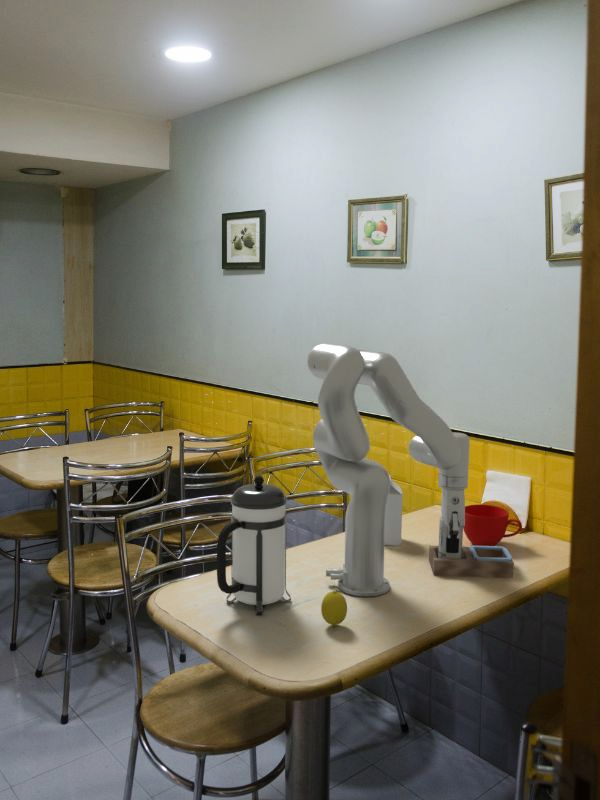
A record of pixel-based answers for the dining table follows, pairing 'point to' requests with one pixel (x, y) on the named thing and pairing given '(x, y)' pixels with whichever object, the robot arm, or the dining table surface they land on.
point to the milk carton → (393, 515)
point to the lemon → (334, 608)
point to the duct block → (474, 562)
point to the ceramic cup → (487, 524)
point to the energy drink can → (442, 541)
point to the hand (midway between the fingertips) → (450, 547)
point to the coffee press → (255, 545)
